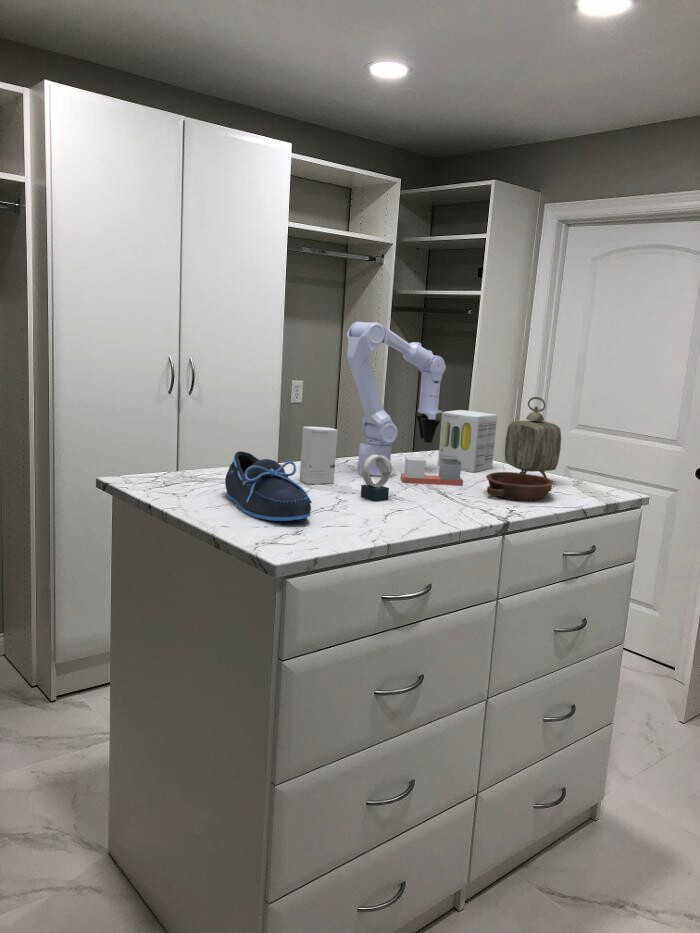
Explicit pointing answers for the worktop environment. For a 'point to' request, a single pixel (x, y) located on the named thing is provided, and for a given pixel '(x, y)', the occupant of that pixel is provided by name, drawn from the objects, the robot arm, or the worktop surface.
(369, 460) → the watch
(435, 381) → the robot arm
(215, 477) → the worktop surface
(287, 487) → the moccasin
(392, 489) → the worktop surface
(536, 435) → the tabletop clock
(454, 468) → the grey cube
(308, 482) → the skincare box
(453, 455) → the supplement box
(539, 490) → the dish
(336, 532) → the worktop surface
